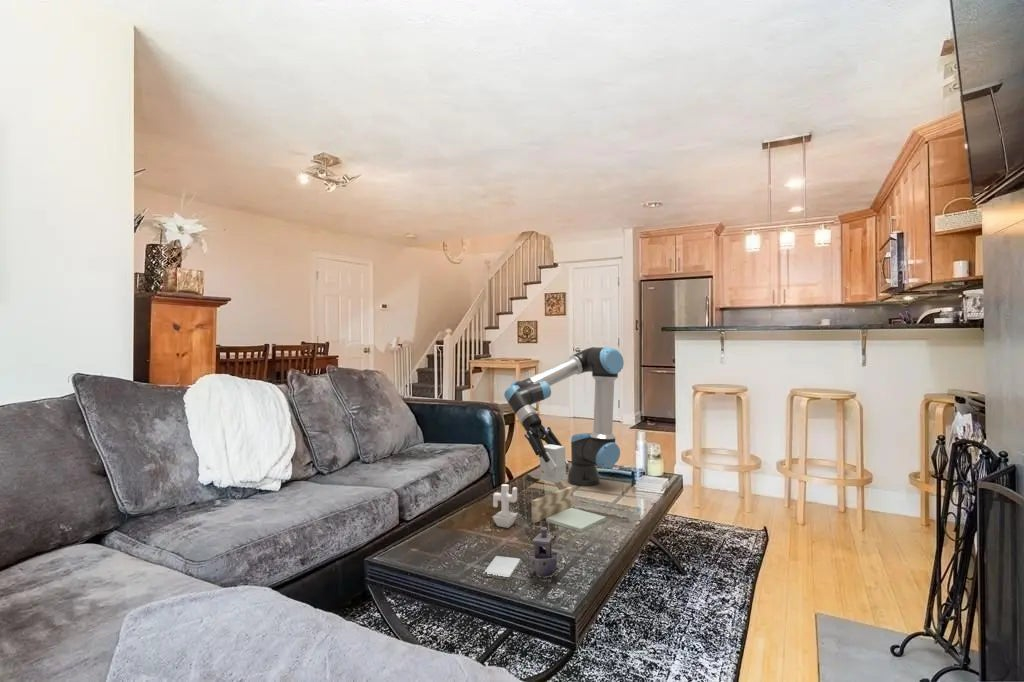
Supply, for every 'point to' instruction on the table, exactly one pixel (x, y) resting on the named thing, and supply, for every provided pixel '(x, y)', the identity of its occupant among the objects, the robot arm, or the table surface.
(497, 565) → the hard drive
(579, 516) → the display plate
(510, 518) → the figurine
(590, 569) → the table surface
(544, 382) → the robot arm
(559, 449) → the small box
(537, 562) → the toy boat
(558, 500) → the wooden screen
